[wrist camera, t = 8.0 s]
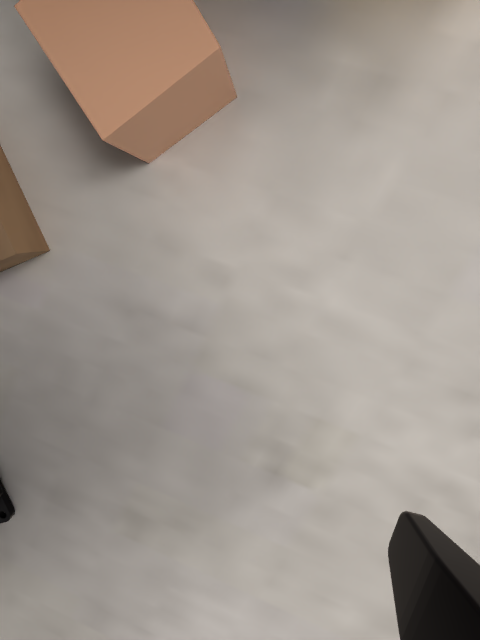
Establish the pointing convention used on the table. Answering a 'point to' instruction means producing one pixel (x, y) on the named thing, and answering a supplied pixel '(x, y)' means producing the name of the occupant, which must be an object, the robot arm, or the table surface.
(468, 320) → the table surface
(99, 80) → the terracotta block
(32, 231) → the walnut slab
